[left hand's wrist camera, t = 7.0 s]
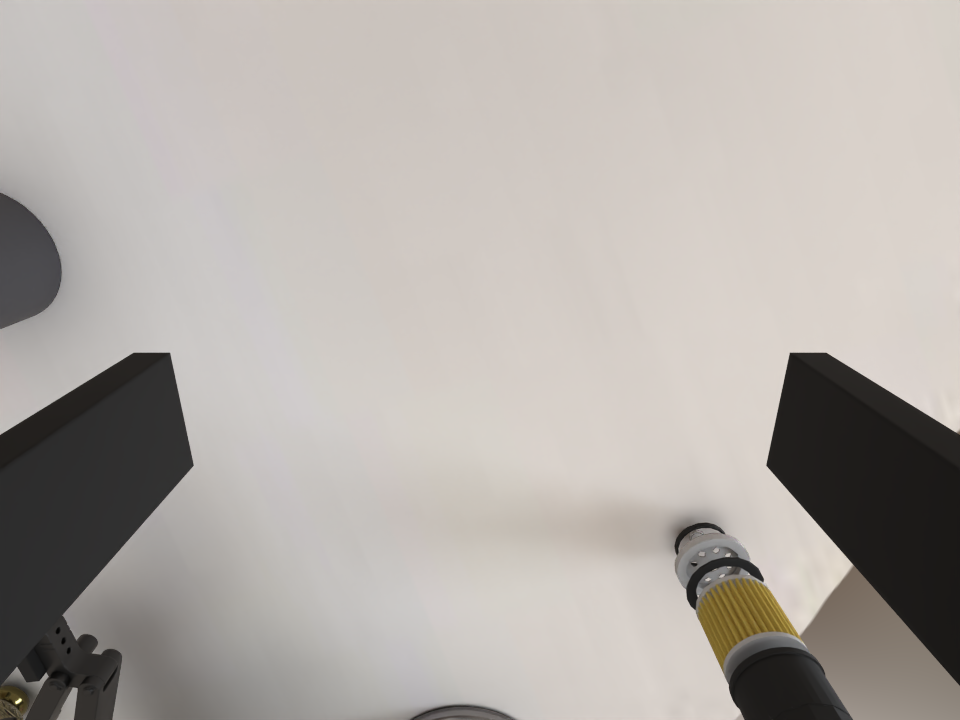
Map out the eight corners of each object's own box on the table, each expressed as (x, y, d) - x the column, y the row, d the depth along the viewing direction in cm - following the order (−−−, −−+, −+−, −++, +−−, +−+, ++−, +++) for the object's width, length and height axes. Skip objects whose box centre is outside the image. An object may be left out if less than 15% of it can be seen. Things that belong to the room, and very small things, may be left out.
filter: (648, 532, 47) (893, 1103, 19) (705, 495, 46) (1057, 1049, 18) (686, 573, 49) (964, 1156, 21) (743, 538, 47) (1120, 1109, 19)
